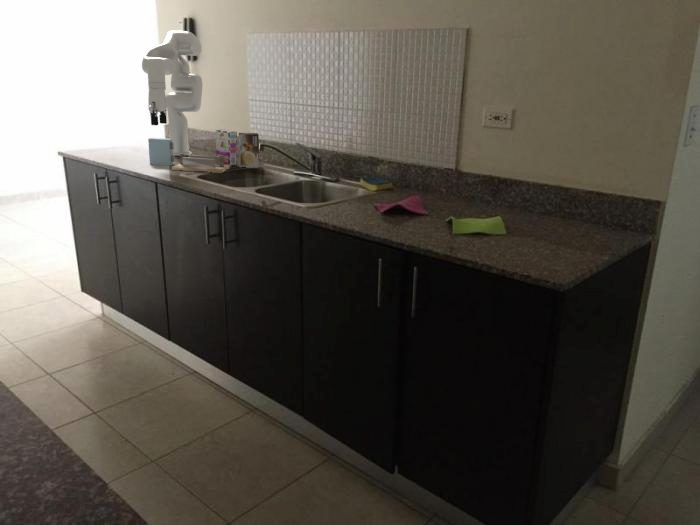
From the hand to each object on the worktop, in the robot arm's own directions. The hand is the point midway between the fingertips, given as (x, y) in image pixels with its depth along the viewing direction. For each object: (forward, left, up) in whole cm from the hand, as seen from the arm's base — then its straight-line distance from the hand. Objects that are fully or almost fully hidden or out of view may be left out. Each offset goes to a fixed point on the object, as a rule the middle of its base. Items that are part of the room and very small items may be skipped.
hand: (159, 124), depth 277 cm
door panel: (0, 0, -19) cm, 19 cm away
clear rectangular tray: (+6, +22, -19) cm, 29 cm away
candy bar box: (-10, +29, -19) cm, 36 cm away
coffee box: (-7, +41, -19) cm, 46 cm away
